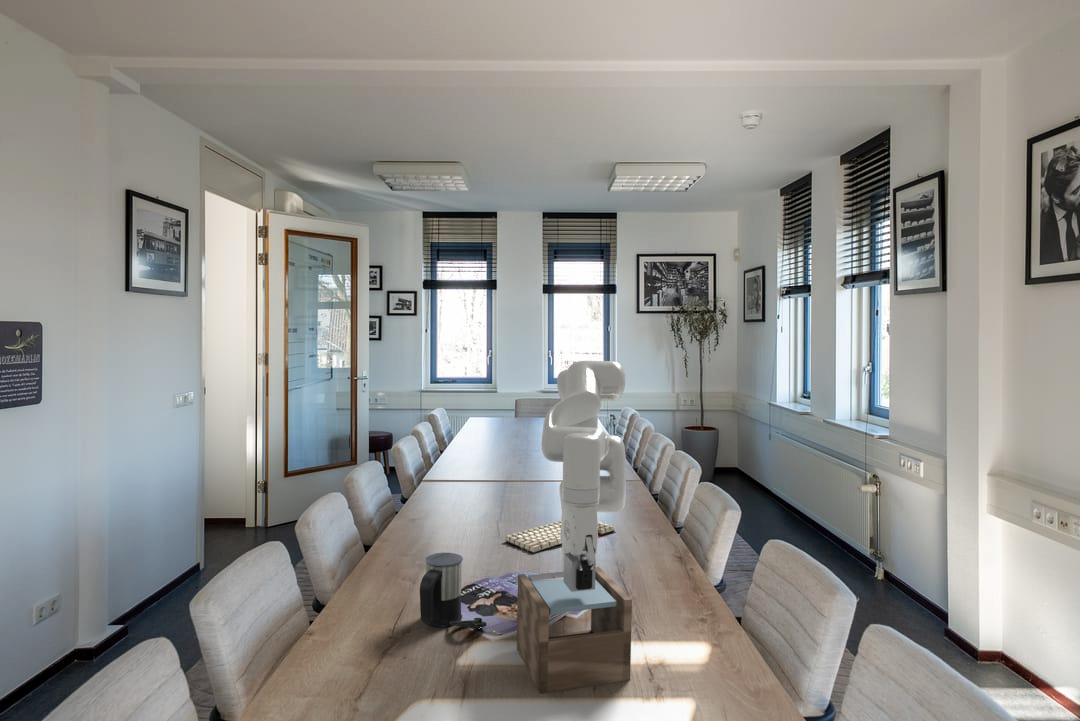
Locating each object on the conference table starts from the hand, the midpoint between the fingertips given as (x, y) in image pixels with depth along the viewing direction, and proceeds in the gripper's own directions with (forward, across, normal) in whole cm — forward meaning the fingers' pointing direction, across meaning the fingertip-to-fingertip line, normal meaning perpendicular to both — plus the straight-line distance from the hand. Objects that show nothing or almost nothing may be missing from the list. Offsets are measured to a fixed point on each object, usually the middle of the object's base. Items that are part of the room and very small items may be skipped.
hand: (579, 582), depth 128 cm
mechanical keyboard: (+20, -83, +24) cm, 88 cm away
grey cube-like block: (+1, 0, 0) cm, 1 cm away
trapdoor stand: (+19, -4, 0) cm, 19 cm away
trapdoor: (+9, -7, 0) cm, 12 cm away
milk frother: (+19, -28, -21) cm, 40 cm away
